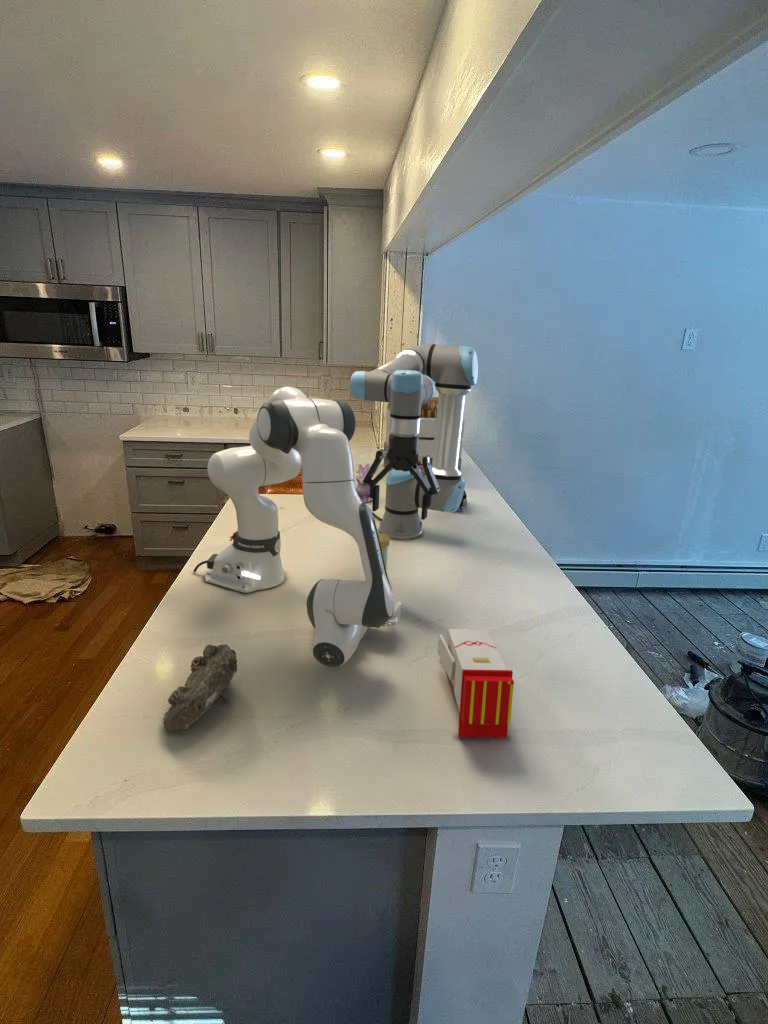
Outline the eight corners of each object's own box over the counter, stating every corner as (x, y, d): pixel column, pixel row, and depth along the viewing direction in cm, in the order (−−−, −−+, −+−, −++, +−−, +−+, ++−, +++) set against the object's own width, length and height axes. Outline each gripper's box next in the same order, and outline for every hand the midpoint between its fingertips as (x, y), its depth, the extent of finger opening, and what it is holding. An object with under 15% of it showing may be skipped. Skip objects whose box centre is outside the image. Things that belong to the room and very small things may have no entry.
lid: (385, 539, 153) (385, 532, 153) (392, 547, 148) (392, 540, 148) (365, 541, 151) (366, 534, 151) (372, 549, 147) (372, 542, 146)
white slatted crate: (382, 463, 289) (386, 382, 275) (445, 464, 293) (451, 384, 279) (390, 482, 257) (394, 392, 243) (460, 483, 261) (468, 394, 247)
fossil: (188, 646, 122) (238, 614, 117) (219, 675, 125) (269, 646, 120) (140, 724, 103) (196, 691, 98) (177, 757, 105) (234, 726, 100)
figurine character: (467, 516, 223) (461, 500, 237) (469, 499, 220) (463, 483, 233) (450, 516, 223) (446, 499, 236) (452, 498, 220) (447, 483, 233)
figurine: (360, 504, 227) (361, 468, 222) (349, 497, 236) (350, 462, 230) (380, 501, 231) (382, 466, 226) (369, 494, 240) (371, 460, 235)
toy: (488, 613, 130) (523, 677, 101) (484, 667, 133) (517, 744, 104) (435, 612, 130) (455, 676, 101) (432, 666, 133) (451, 743, 103)
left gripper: (395, 614, 129) (408, 587, 142) (310, 599, 134) (330, 575, 146) (393, 638, 131) (406, 609, 144) (310, 623, 136) (330, 596, 148)
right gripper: (456, 437, 141) (449, 517, 148) (364, 426, 149) (361, 502, 156) (448, 442, 134) (441, 526, 141) (352, 430, 143) (350, 510, 150)
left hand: (367, 592), depth 145 cm, fingers open, 8 cm apart
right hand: (399, 514), depth 149 cm, fingers open, 13 cm apart
